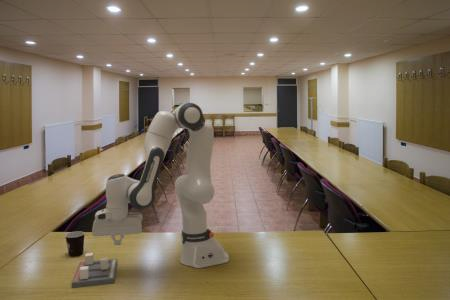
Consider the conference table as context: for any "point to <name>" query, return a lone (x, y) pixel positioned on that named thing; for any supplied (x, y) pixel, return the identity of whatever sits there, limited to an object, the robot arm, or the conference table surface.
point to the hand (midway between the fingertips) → (117, 244)
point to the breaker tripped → (104, 263)
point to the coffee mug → (75, 243)
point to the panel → (96, 274)
